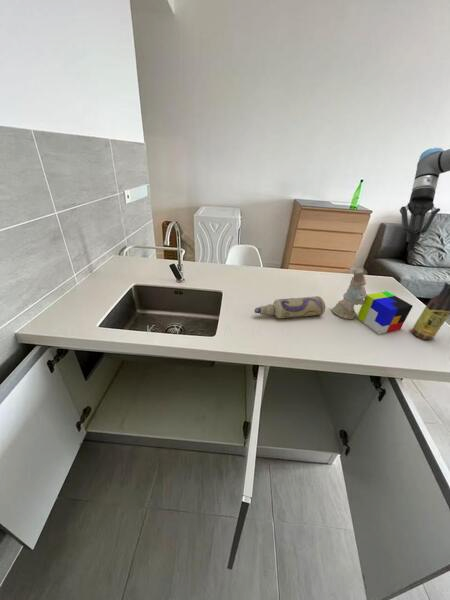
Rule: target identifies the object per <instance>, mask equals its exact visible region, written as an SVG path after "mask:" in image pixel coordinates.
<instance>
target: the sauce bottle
mask: <svg viewBox="0 0 450 600" xmlns="http://www.w3.org/2000/svg"><path fill="white" fill-rule="evenodd" d="M449 316H450V281H446V282H445V283H444V285H443V287H442V289H441V291H440V292H439V293H438V294H437V295H436V296H433V297H432V298H431V299H430V300H429V302H428V303H427V304H426V306H424V308H423V311H422V312H421V314H420V316H419V317H418V318H417V319H416V321H415V323H414V325H413V328H412V329H411V332H412V334H413V335H414V336H416V337H417V338H420V339H423V340H427V341H429V340H432V339H433V338H434V337H435V336H436V335H437V333H438V332H439V331H440V329H441V328H442V326H443V325H444V323H445V322H446V320H447V319H448V318H449Z"/></svg>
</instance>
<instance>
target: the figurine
mask: <svg viewBox="0 0 450 600" xmlns="http://www.w3.org/2000/svg"><path fill="white" fill-rule="evenodd" d="M366 285H367V281H366V277H365V273H364V270H363V268H362V267H357V268H355V269H354V270H353V276H352V277H351V280H350V281H349V285H348V288H347V289H346V291H345V292H344V294H343V295H342V296H343V299H341V300H339V301H338V302H337V303H336V305H335V306H334V307H332V308H331V311H332V312H333V314H335V315H336V316H338V317H339V318H341V319H342V318H343V319H345V320H346V319H347V320H353V319H354V318H355V317H357V313H356V311H355V307H354V306H362V304H364V299H365V298H367V290H366V287H365V286H366Z"/></svg>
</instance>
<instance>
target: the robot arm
mask: <svg viewBox="0 0 450 600" xmlns="http://www.w3.org/2000/svg"><path fill="white" fill-rule="evenodd" d="M447 172H450V148H449V149H446V150H444V149H443V148H442V147H434V148H428V149H426V150H424V151H423V152H422V153H421V154H420V156H419V160H418V162H417V164H416V171H415V175H414V180H413V184H412V188H411V193H410V196H409V197H410V198H409V201H408V203H407V204H406V205H405V206H401V207H400V208H399V213H400V214H401V228H402V232H403V233H406V240H405V241H406V242H407V243H408V244H407V249H406V251H407V252H412V251H414V250H415V245H416V244H417V243H419V241H420V238H421V237H420V236H421V235H424V234H425V233H427V232H428V230H429V229H430V227H431V225H432V222H433V221H434V219H435V217H436V215H437V214H439V212H440V211H441V208H439V207H435V204H434V201H435V195H436V190H437V186H438V181H439V177H440V174H443V173H447ZM408 211H409V213H410V220H408ZM427 213H430V215H429V216H428V218H427V219H426V222H425V224H424V221H425V217H426V214H427ZM417 216H418V218H417ZM416 220H417V222H416ZM416 223H417V224H416ZM415 225H416V227H415ZM414 229H415V232H414Z"/></svg>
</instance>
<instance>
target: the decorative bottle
mask: <svg viewBox="0 0 450 600" xmlns="http://www.w3.org/2000/svg"><path fill="white" fill-rule="evenodd" d="M325 303H326V302H325V300H324V299H323V298H322V297H321V296H320V295H319V296H318V295H315V296H306V297H293V298H292V297H290V298H279V299H275V300H274V301H273V303H270V304H266V305H261V306H259V307H256V308H255V309H254V313H255V314H259V315H262V316H263V315H266V316H269V315H270V316H271V315H274V316H275V317H276V318H277V319H286V318H299V317H309V316H310V317H311V316H321V315H324V314H325V311H326V304H325Z"/></svg>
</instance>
